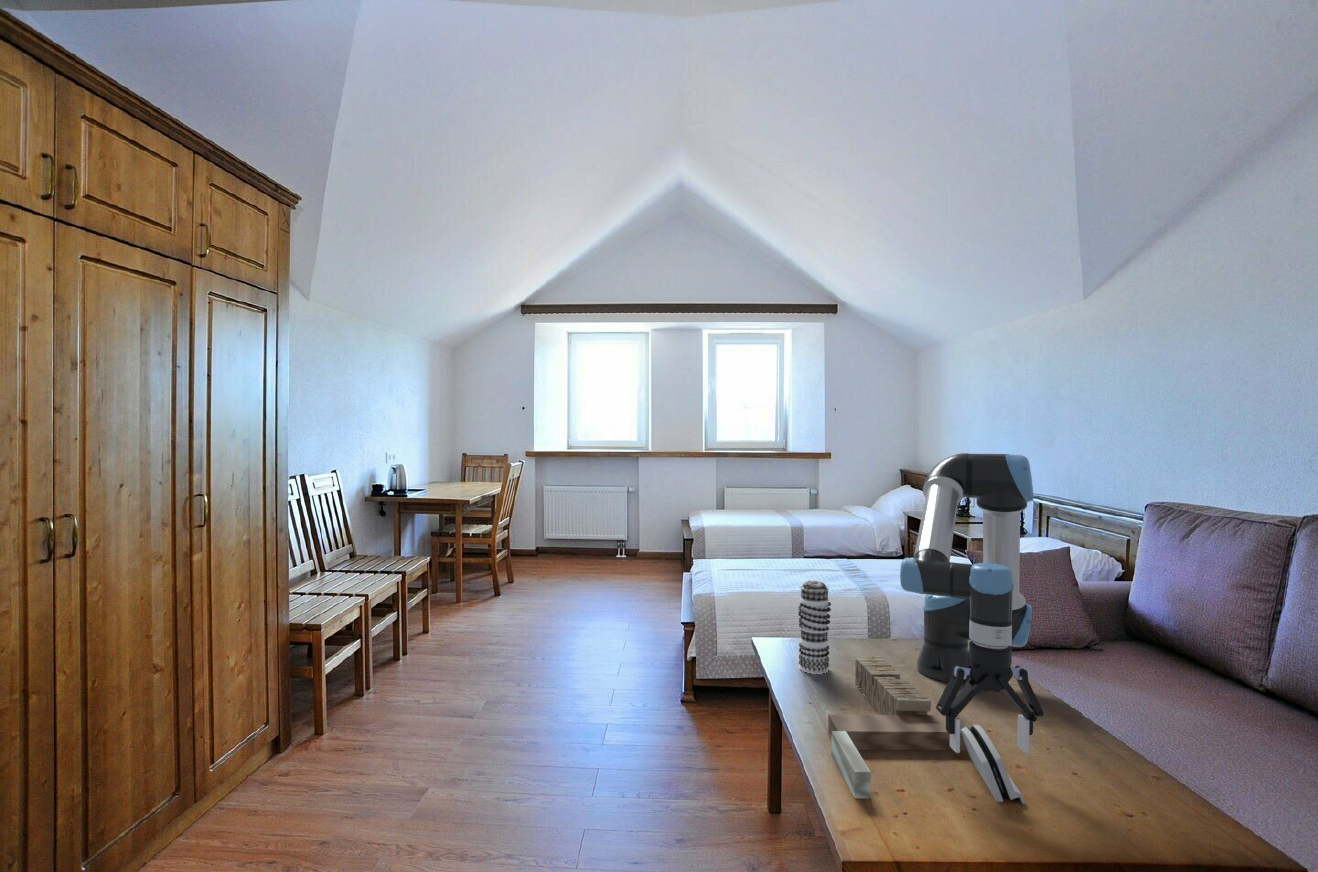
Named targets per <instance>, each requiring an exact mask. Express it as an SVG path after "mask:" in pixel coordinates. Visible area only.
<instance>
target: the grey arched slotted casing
mask: <svg viewBox="0 0 1318 872" xmlns="http://www.w3.org/2000/svg"><path fill="white" fill-rule="evenodd" d="M961 733H962V736H963V739H964V741H965V744H966V747H967V750H968V751H967V753H968V756H969V758H970V760H971V761H972V763H973V765H974V766H975V768H976V770H977V771H978V773H979V775H980V777H981V778H982V780H983V782H984V783H985V785H986V787H987V788H988V789H989V791H990V793H991V795H992V796H993V798H994V800H995V801H996V802H998V803H1000V802H1001V803H1002V802H1004V800H1005V796H1006V798H1007V799H1010V800H1011V801H1013V800H1015V799H1019V801H1020V802H1021V804H1023V805H1025V804H1026V802H1025V799H1024V796H1023V794H1022V793H1021V791H1020V790H1019V788H1018V787H1017V785H1016V784H1015V783H1014V781H1013V779H1012V778H1011V777H1010V775H1009V774H1008V771H1007V769H1006V766H1005V763H1004V761H1003V759H1002V757H1001V756H1000V753H999V752H998V750H997V749H996V747H995V745H994V743H993V741H992V739H991V738H990V737H989V735H988V734H987V733H986V731H985V729H983V728H982V726H981V725H979V724H974V725H973V724H972V725H971V729H970V728H967V727H964V728H962V729H961Z"/></svg>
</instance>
